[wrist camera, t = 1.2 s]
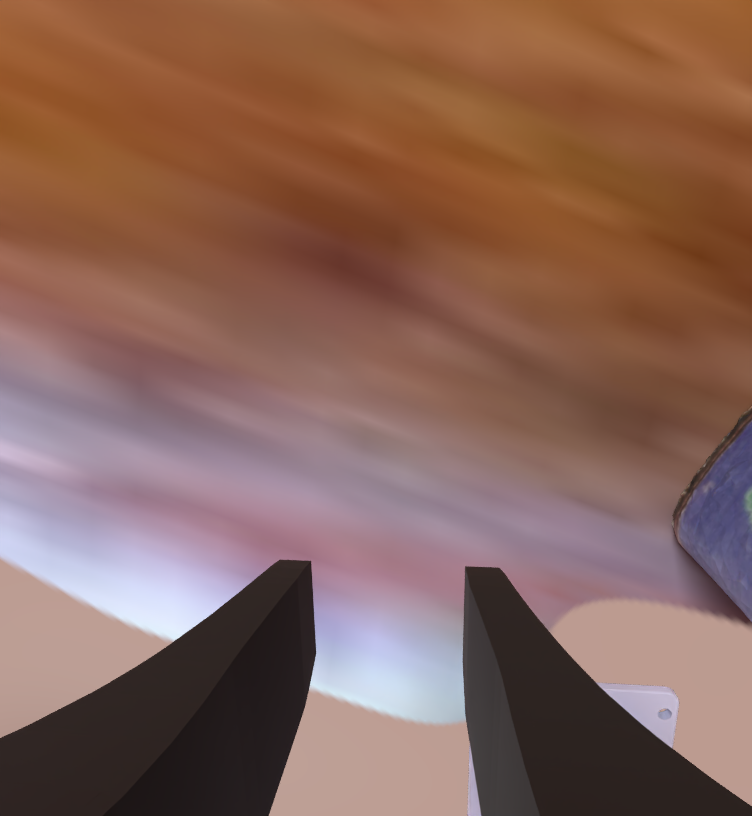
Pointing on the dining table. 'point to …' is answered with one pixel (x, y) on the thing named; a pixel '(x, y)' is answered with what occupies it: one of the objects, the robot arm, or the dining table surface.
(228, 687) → the robot arm
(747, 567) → the flask
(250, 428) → the dining table surface
